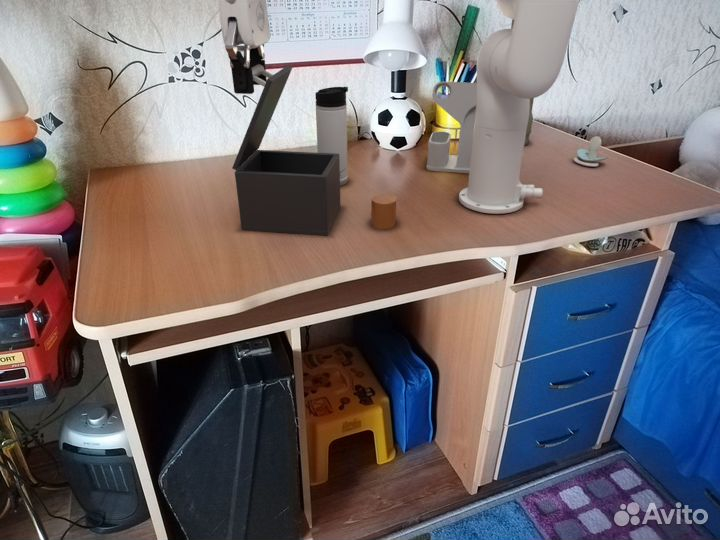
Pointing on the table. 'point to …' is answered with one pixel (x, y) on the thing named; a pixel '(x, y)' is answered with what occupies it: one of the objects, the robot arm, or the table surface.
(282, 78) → the lid
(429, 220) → the table surface
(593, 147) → the pacifier
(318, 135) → the travel mug
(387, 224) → the orange cylinder
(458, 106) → the gray holder stand
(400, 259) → the table surface
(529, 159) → the table surface
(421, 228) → the table surface
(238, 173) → the dark storage box
